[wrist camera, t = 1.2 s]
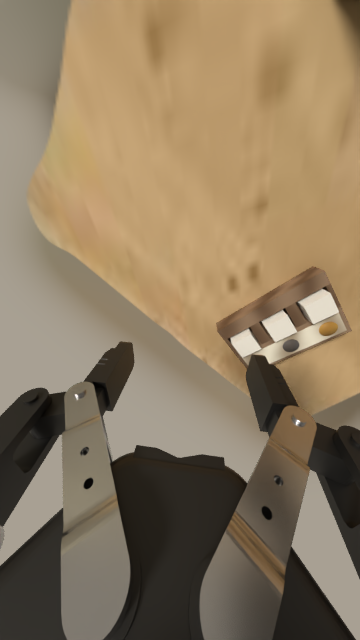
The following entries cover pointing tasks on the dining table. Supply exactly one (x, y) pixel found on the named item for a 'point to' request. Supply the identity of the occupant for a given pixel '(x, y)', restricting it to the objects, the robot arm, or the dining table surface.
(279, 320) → the key middle
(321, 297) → the key
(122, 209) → the dining table surface
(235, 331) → the button board
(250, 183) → the dining table surface
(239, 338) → the key
